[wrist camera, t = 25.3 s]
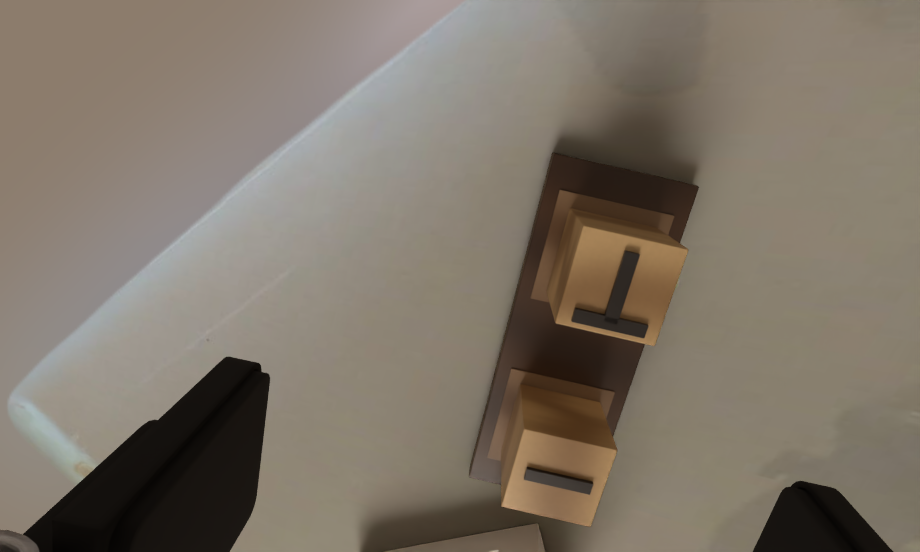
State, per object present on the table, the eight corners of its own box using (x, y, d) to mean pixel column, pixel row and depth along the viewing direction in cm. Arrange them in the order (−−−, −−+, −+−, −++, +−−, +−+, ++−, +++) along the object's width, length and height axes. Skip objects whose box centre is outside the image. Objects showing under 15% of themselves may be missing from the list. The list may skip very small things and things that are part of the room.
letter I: (500, 452, 34) (501, 509, 29) (520, 383, 33) (524, 431, 28) (577, 470, 34) (591, 530, 29) (600, 402, 33) (618, 452, 28)
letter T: (569, 207, 30) (584, 226, 25) (658, 228, 30) (691, 250, 25) (546, 292, 31) (555, 325, 26) (630, 311, 31) (656, 348, 26)
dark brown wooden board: (552, 152, 30) (554, 153, 29) (693, 184, 30) (700, 186, 29) (469, 467, 36) (468, 478, 35) (587, 495, 36) (589, 506, 35)
